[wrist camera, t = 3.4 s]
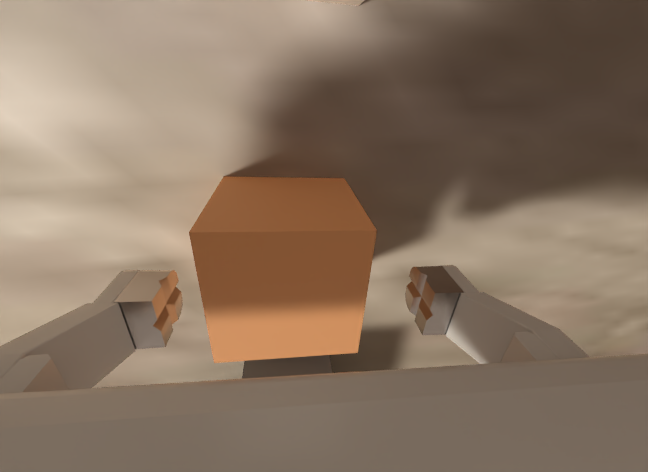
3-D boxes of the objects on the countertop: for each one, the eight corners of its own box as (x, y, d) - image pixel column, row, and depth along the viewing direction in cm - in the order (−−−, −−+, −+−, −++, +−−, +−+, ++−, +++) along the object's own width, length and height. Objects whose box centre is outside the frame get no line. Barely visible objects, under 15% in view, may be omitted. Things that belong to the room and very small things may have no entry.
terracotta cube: (224, 175, 12) (189, 232, 7) (343, 177, 12) (377, 230, 8) (235, 275, 14) (214, 362, 10) (335, 272, 15) (357, 352, 10)
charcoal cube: (245, 356, 17) (231, 453, 12) (328, 351, 18) (343, 440, 13) (250, 407, 19) (241, 503, 15) (324, 400, 20) (336, 490, 16)
